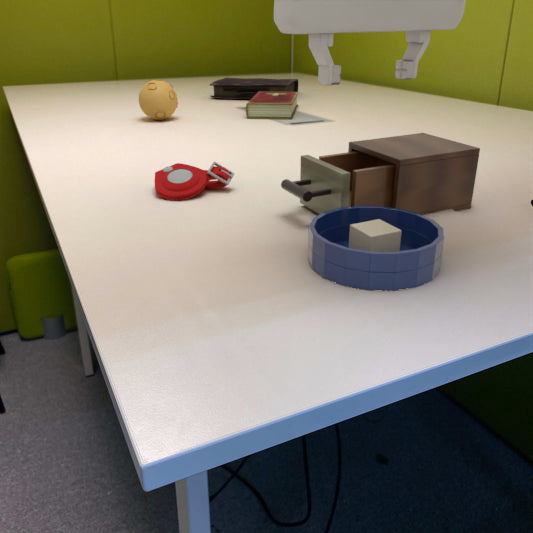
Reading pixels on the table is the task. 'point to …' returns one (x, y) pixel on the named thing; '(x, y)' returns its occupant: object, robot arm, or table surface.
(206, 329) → the table surface
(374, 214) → the bowl
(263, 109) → the hardcover book
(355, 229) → the block
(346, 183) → the drawer
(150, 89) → the stress ball
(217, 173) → the tracker holder
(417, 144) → the cabinet
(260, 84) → the diary
